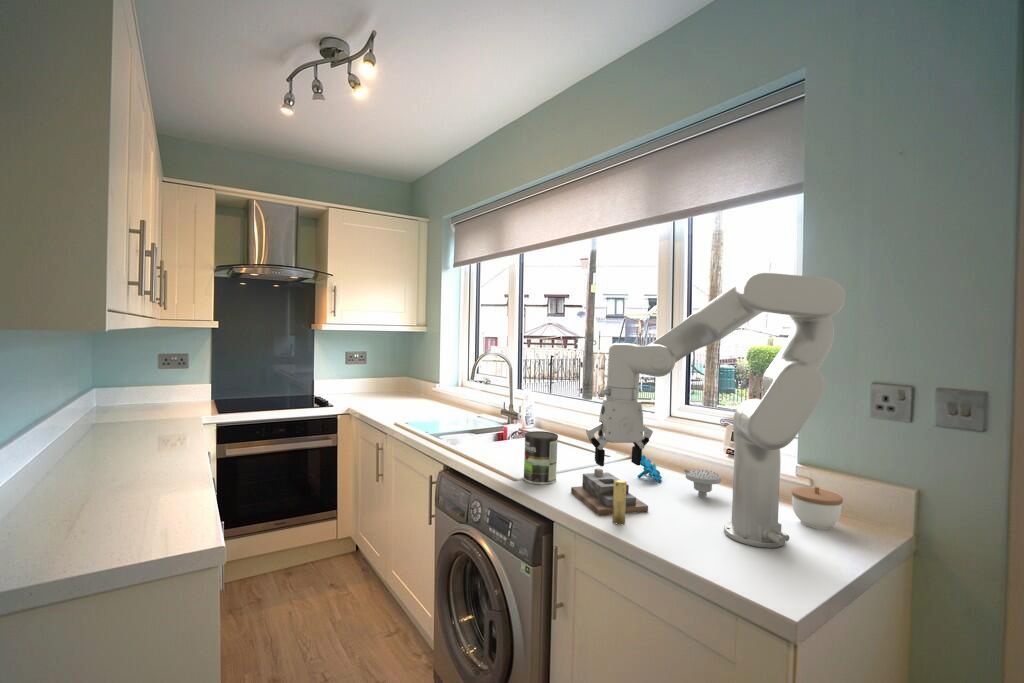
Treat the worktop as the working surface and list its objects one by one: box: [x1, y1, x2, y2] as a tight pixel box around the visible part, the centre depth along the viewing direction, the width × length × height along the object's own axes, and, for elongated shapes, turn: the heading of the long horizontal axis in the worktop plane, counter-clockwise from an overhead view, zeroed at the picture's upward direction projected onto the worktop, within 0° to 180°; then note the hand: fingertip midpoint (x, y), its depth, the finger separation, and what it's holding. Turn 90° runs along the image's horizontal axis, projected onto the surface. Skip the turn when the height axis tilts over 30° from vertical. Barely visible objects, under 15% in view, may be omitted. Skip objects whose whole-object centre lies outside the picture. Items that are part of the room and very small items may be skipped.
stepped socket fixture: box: [570, 468, 649, 516], centre depth 133 cm, size 18×14×7 cm
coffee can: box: [523, 430, 559, 486], centre depth 151 cm, size 10×10×14 cm
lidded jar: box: [791, 486, 844, 530], centre depth 121 cm, size 11×11×9 cm
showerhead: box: [683, 468, 722, 498], centre depth 140 cm, size 9×7×10 cm
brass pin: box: [612, 479, 627, 525], centre depth 119 cm, size 3×3×10 cm
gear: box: [636, 454, 663, 483], centre depth 156 cm, size 11×6×10 cm
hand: (617, 464), depth 119 cm, fingers open, 9 cm apart
